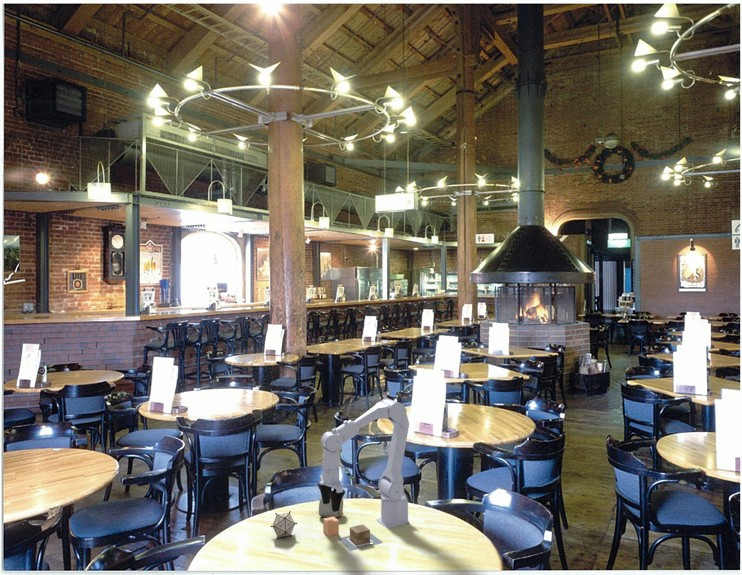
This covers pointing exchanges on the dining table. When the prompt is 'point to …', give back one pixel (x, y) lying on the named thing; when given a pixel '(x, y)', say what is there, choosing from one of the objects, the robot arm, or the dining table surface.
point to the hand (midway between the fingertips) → (330, 507)
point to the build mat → (353, 546)
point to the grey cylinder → (329, 509)
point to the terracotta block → (331, 526)
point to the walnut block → (359, 534)
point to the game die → (283, 525)
